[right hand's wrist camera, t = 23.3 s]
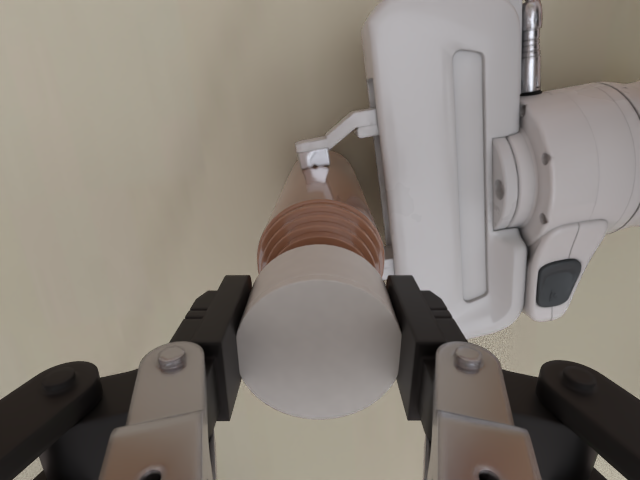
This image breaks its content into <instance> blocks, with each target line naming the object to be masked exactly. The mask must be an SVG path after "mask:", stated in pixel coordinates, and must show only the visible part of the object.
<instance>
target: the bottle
mask: <svg viewBox="0 0 640 480" xmlns="http://www.w3.org/2000/svg"><path fill="white" fill-rule="evenodd" d="M328 153H329V160H330V165H325V166H316V165H314V166H313V167H311V168H308V169H300V166H299V162H298V160H297V161H296V163H295V164H294V165H293V167H292V169H291V171H290V174H289V176H288V178H287V180H286V183H285V185H284V187H283V189H282V191H281V194H280V196H279V198H278V200H277V203H276V205H275V207H274V209H273V211H272V214H271V216H270V218H269V220H268V223H267V225H266V227H265V229H264V231H263V234H262V236H261V239H260V241H259V245H258V251H257V264H258V273H260V272H261V271H262V270H263V268H264V267H265V266H266V265H267V264H268V263H269V262H271V261H272V260H273V259H274V258H276V257H277V256H279V255H281V254H282V253H284V252H286V251H289V250H291V249H294V248H297V247H301V246H305V245H314V244H325V245H333V246H337V247H341V248H345V249H347V250H350V251H352V252H354V253H356V254H358V255H360V256H361V257H363V258H364V259H365V260H367V261H368V262H369V263H370V264H371V265H372V266H373V267H374V268H375V269H376V270H377V272H378V273H379V274H380V276H381V277H382V276H383V272H384V263H385V251H384V246H383V242H382V239H381V236H380V234H379V231H378V229H377V226H376V224H375V221H374V219H373V217H372V214H371V212H370V209H369V207H368V204H367V202H366V199H365V197H364V194H363V192H362V189H361V187H360V184H359V182H358V179H357V177H356V174H355V172H354V169H353V168H352V166H351V164H350V163H349V161H348V160H347V159H346V158H345V157H343V156H342V155H341V154H339V153H337V152H335V151H331V150H328Z"/></svg>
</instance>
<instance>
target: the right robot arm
mask: <svg viewBox="0 0 640 480" xmlns="http://www.w3.org/2000/svg"><path fill="white" fill-rule="evenodd" d="M386 288H387V291H388V294H389V297H390V300H391V303H392V306H393V309H394V312H395V315H396V317H397V320H398V323H399V326H400V329H401V332H402V338H401V349H400V359H399V370H398V376H397V378H396V379H397V383H398V386H399V390H400V394H401V397H402V401H403V405H404V408H405V412H406V416H407V419H408V420H421V422H422V425H423V428H424V431H425V434H426V435H425V443H424V464H423V480H607V479H606V478H605V477H604V476H603V475H601V474H600V473H599V472H598V471H597V470H596V469H595V468H594V464H595V461H596V458H597V455H598V454H599V455H600V456H601V457H602V458H604V459H605V460H606V461H607V462H608V463H609V464H610V465H612V466H613V467H614V468H615V469H616V470H617V471H618V472H620V473H621V474H622V475H623V476H624V477H625V478H626V479H627V480H640V400H639V399H638V398H636V397H635V396H633V395H632V394H630V393H629V392H627V391H626V390H624V389H623V388H621V387H620V386H618V385H617V384H615V383H614V382H612V381H611V380H609V379H608V378H606V377H605V376H604V375H602V374H600V373H599V372H597V371H595V370H593V369H591V368H589V367H587V366H584V365H581V364H578V363H575V362H570V361H563V360H554V361H549V362H546V363H545V364H543V365H542V366H541V369H540V373H539V377H533V376H529V375H524V374H519V373H514V372H510V371H506V370H503V369H501V365H500V362H499V360H498V359H497V358H496V356H495V355H493V354H492V353H491V352H490V351H488V350H487V349H485V348H483V347H481V346H478V345H476V344H472V343H468V341H467V340H466V338H465V336H464V335H463V333H462V331H461V330H460V328H459V327H458V325H457V323H456V322H455V320H454V319H453V318H452V315H451V313H450V312H449V310H447V307H446V305H445V304H444V302H443V300H442V299H441V298H440V297H438V296H437V295H436V294H434V293H433V292H431V291H430V290H420V289H419V287H418V285H417V283H416V281H415V279H414V277H413V276H412V275H388V277H387V283H386ZM251 290H252V283H251V277H250V275H226V276H225V277H224V279H223V281H222V283H221V285H220V287H219V289H218V290H217V291H207V292H206V293H204V294H203V295H201V296H200V297H198V298H197V299H196V300H195V302H194V303H193V305H192V307H191V308H190V311H189V312H188V313H187V315H186V316H185V319H184V320H183V321H182V323H181V324H180V326H179V328H178V329H177V331H176V333H175V334H174V336H173V337H172V339H171V341H170V342H169V343H168V344H164V345H162V346H159V347H157V348H155V349H153V350H152V351H150V352H149V353H148V354H147V355H145V357H144V358H143V359H142V360H141V362H140V365H139V369H136V370H133V371H129V372H125V373H120V374H116V375H111V376H106V377H101V378H100V376H99V372H98V369H97V367H96V366H95V365H94V364H92V363H89V362H84V361H76V362H69V363H64V364H60V365H57V366H54V367H52V368H50V369H47V370H45V371H43V372H41V373H40V374H38V375H37V376H35V377H34V378H32V379H31V380H29V381H28V382H26V383H25V384H23V385H22V386H20V387H19V388H17V389H16V390H14V391H13V392H11V393H10V394H8V395H7V396H5V397H4V398H2V399H1V400H0V480H13V479H14V478H15V477H16V476H17V475H18V474H19V473H20V472H22V471H23V470H24V469H25V468H26V467H27V466H28V465H30V464H31V463H32V462H33V461H34V460H35V459H36V458H38V457H39V458H40V461H41V464H42V467H43V469H44V470H43V471H42V472H41V473H40V474H39V475H37V476H36V477H35V478H34V479H33V480H217V464H216V443H215V435H214V426H215V423H216V421H230V418H231V414H232V411H233V407H234V404H235V400H236V397H237V393H238V389H239V386H240V382H241V379H242V377H241V375H240V371H239V361H238V351H237V341H236V333H237V330H238V327H239V324H240V321H241V318H242V315H243V312H244V310H245V307H246V304H247V301H248V298H249V295H250V292H251Z"/></svg>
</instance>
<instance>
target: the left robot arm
mask: <svg viewBox="0 0 640 480" xmlns="http://www.w3.org/2000/svg"><path fill="white" fill-rule="evenodd" d="M542 20H543V12H542V5H541V1H540V0H525V3H523V4H522V0H383V1H381V2H380V3H378V4H377V5H376V6H375V8H374V9H373V10H372V11H371V12H370V14H369V15H368V17H367V18H366V20H365V22H364V24H363V26H362V29H361V38H362V47H363V55H364V64H365V72H366V80H367V89H368V97H369V106H370V108H367V109H362V110H357V111H351V112H350V113H348V114H347V115H346V116H345V117H344V118H343V119H342V120H340V121H339V122H338V123H337V124H336V125H335V126H333V127H332V128H331V129H330V130H329V131H328V132H327V133H325V136H321V137H316V138H310V139H305V140H300V141H297V142H296V143H295V147H296V152H297V157H298V162H299V166H300V169H308V168H311V167H313V166H314V165H316V166H325V165H330V160H329V153H328V150H330V149H331V148H332V147H334V146H335V145H336V144H337V143H338V142H340V141H341V140H342V139H343V138H344V137H346V136H347V135H348V134H349V133H350V132H352V131H353V130H354V133H355V134H356V135H357V136H358V137H359V138H365V137H371V136H373V139H374V147H375V156H376V164H377V173H378V181H379V189H380V198H381V206H382V214H383V223H384V231H385V240H386V246H384V251H385V263H384V272H383V276H382V279H383V280H387V277H388V275H412V276H413V277H414V279H415V281H416V283H417V285H418V287H419V289H420V290H430V291H431V292H433V293H434V294H436V295H437V296H438V297H440V298H441V299H442V300H443V302H444V304H445V305H446V307H447V310H449V312H450V313H451V315H452V318H453V319H454V320H455V322H456V323H457V325H458V327H459V328H460V330H461V331H462V333H463V335H464V336H465V338H466V339H471V338H476V337H480V336H484V335H488V334H492V333H495V332H498V331H500V330H503V329H504V328H506V327H508V326H510V325H511V324H512V323H513V322H514V321H515V320H516V319H517V318H518V317H519V315H520V314H521V311H522V312H524V313H525V314H526V315H527V316H529V317H530V318H531V319H532V320H534V321H539V322H542V321H551V320H555V319H558V318H560V317H561V316H562V315H563V314H564V313H565V312H566V310H567V308H568V306H569V304H570V302H571V300H572V297H573V295H574V292H575V290H576V288H577V286H578V283H579V281H580V279H581V277H582V275H583V273H584V271H585V269H586V267H587V265H588V263H589V261H590V260H591V258H592V256H593V254H594V253H595V251H596V250H597V248H598V247H599V245H600V243H601V242H602V240H603V238H604V237H605V235H606V234H610V233H613V232H615V231H618V230H621V229H624V228H627V227H633V226H639V227H640V80H638V81H636V82H632V83H627V84H624V83H616V82H592V83H587V84H581V85H576V86H571V87H565V88H560V89H554V90H549V91H540V85H541V56H540V54H541V53H540V50H539V49H540V45H539V43H540V39H539V38H540V28H542Z"/></svg>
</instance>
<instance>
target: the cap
mask: <svg viewBox="0 0 640 480" xmlns="http://www.w3.org/2000/svg"><path fill="white" fill-rule="evenodd" d="M401 338H402V332H401V329H400V326H399V323H398V320H397V317H396V315H395V312H394V309H393V306H392V303H391V300H390V297H389V294H388V291H387V288H386V286H385V283H384V281H383V279H382V277H381V276H380V274H379V273H378V272H377V270H376V269H375V268H374V267H373V266H372V265H371V264H370V263H369V262H368V261H367V260H365V259H364V258H363V257H361V256H360V255H358V254H356V253H354V252H352V251H350V250H347V249H345V248H341V247H337V246H333V245H325V244H314V245H305V246H301V247H297V248H294V249H291V250H289V251H286V252H284V253H282V254H281V255H279V256H277V257H276V258H274V259H273V260H272V261H271V262H269V263H268V264H267V265H266V266H265V267H264V268H263V270H262V271H261V272H260V273H259V275H258V277H257V278H256V280H255V282H254V285H253V287H252V290H251V292H250V295H249V298H248V301H247V304H246V307H245V310H244V312H243V315H242V318H241V321H240V324H239V327H238V330H237V333H236V341H237V351H238V361H239V371H240V375H241V377H242V379H243V381H244V382H245V384H246V385H247V387H248V388H249V389H250V390H251V392H252V393H253V394H254V395H255V396H257V397H258V398H259V399H260V400H261V401H263V402H264V403H265V404H267V405H269V406H270V407H272V408H274V409H276V410H278V411H280V412H282V413H285V414H288V415H291V416H295V417H300V418H306V419H333V418H338V417H344V416H347V415H350V414H353V413H356V412H358V411H361V410H363V409H365V408H366V407H368V406H370V405H372V404H373V403H374V402H376V401H377V400H378V399H380V398H381V397H382V396H383V395H384V394H385V393H386V392H387V391H388V390H389V388H390V387H391V386H392V384H393V383H394V381H395V380H396V378H397V376H398V370H399V359H400V349H401Z"/></svg>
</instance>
